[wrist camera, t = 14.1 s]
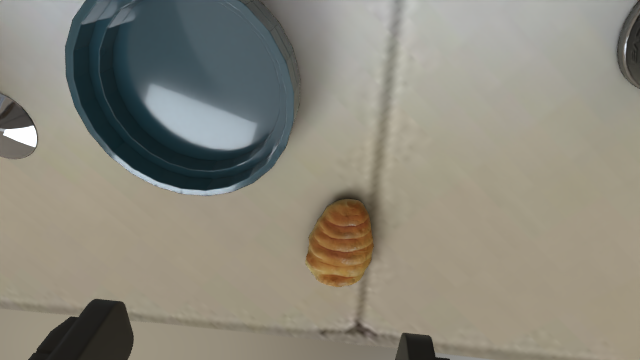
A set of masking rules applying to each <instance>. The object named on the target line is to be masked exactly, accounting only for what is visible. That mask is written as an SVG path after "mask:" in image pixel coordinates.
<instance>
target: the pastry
mask: <svg viewBox="0 0 640 360" xmlns="http://www.w3.org/2000/svg"><path fill="white" fill-rule="evenodd" d="M373 247H374V244H373V237H372V233H371V223H370V219H369V214H368V212H367V210H366V209H365V207H364V205H363V204H362V203H361V202H360V201H358V200H353V199H343V200H338V201H335V202H334V203H332V204H331V205H329V206H327V208H326V209H325V211H324V212H323V215H322V216H321V217H320V218H319V219H318V220H317V223H316V225H315V227H314V229H313V231H312V232H311V233H310V235H309V247H308V254H307V256H306V261H305V263H306V266H307V267H308V268H309V269H310V271H311V273H312V274H313V275H314V276H315V277H316V279H317V280H318V281H319V282H321V283H323V284H326V285H330V286H334V287H342V286H345V285H352V284H354V283H356V282H357V281H359V280H360V279H361V277H362V276H363V274H364V271H365V269H366V268H367V267H368V265H369V263H370V261H371V255H372V250H373Z"/></svg>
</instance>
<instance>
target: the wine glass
mask: <svg viewBox="0 0 640 360" xmlns="http://www.w3.org/2000/svg"><path fill="white" fill-rule="evenodd" d="M36 145H37V132H36V129H35V126H34V124H33V122H32V120H31V118H30V117H29V116H28V114H27V113H26V112H25V111H24V110H23V108H22V107H21V106H19V105H18V104H17V103H16V102H15V101H13V100H12V99H10V98H9V97H7V96H5V95H3V94H2V93H0V156H1V157H4V158H8V159H21V158H25V157H27V156H29V155H30V154H31V153H32V152H34V150H35V148H36Z"/></svg>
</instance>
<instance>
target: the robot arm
mask: <svg viewBox="0 0 640 360" xmlns="http://www.w3.org/2000/svg"><path fill="white" fill-rule="evenodd" d="M617 53H618V63H619V66H620V69H621V71H622V73H623V75H624V77H625V78H626V79H627V80H628V81H629V82H630V83H631V84H632V85H634V86H635V87H637V88H639V89H640V0H639V1H638V3H637V4H636V5H635V7H634V8H633V10H632V11H631V13H630V14H629V16H628V18H627V20H626V22H625V24H624V26H623V28H622V31H621V34H620V38H619V42H618V51H617ZM133 337H134V336H133V332H132V328H131V325H130V321H129V317H128V314H127V310H126V307H125V304H124V303H123V302H121V301H111V300H102V299H94V300H92V301H91V302H90V303H89V304H88V305H87V306H86V308H85V309H84V310H83V312H82V313H81V314H80V316H79V317H69V318H68V319H67V320H65V321H64V322H63V323H61V324H60V325H59V326H58V327H56V328H55V329H53V330H52V331H51V332H50V333H49V335H48V336H47V337H46V338H45V340H44V341H43V342H42V343H41V345H40V346H39V347H38V348H37V351H36V353H33V354H32V356H31V357H30V358H29V359H28V360H128V358H129V356H130V353H131V350H132V347H133V340H134V339H133ZM395 360H450V359H447V358H437V357H435V352H434V347H433V342H432V339H431V337H430V336H429V335H420V334H410V333H403V334H402V336H401V339H400V343H399V347H398V351H397V354H396V358H395Z"/></svg>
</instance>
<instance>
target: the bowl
mask: <svg viewBox="0 0 640 360" xmlns="http://www.w3.org/2000/svg"><path fill="white" fill-rule="evenodd" d="M65 63H66V79H67V82H68V86H69V89H70V92H71V96H72V99H73V103H74V106H75V108H76V110H77V112H78V114H79V115H80V117H81V119H82V121H83V123H84V124H85V126H86V128H87V130H88V132H89V133H90V134H91V135H92V136H93V138H94V139H95V140H96V141H97V142H98V143H99V145H100V146H101V147H102V148H103V149H104V151H105V152H106V153H107V154H108V155H109V156H110V157H111V158H113V159H114V160H115V161H116V162H118V163H119V164H120V165H121V166H123V167H124V168H125V169H126V170H128V171H129V172H130V173H132V174H133V175H135V176H137V177H139V178H141V179H143V180H145V181H147V182H149V183H151V184H152V185H154V186H157V187H160V188H164V189H167V190H170V191H174V192H177V193H180V194H181V193H182V194H189V195H202V196H210V195H217V194H223V193H230V192H233V191H236V190H238V189H240V188H243V187H245V186H247V185H250V184H252V183H254V182H255V181H256V180H258V179H259V178H260V177H261V176H263V175H264V174H265V173H266V172H267V171H269V170H270V169H271V168H272V167H273V166H274V164H275V163H276V161H277V160H278V158H279V157H280V155H281V154H282V152H283V151H284V149H285V148H286V146H287V143H288V140H289V137H290V134H291V131H292V128H293V125H294V121H295V118H296V115H297V112H298V108H299V105H300V75H299V71H298V67H297V63H296V58H295V54H294V51H293V48H292V46H291V44H290V42H289V41H288V39H287V37H286V35H285V33H284V31H283V29H282V27H281V25H280V24H279V22H278V21H277V20H276V19H275V17H274V16H273V15H272V14H271V13H270V12H269V11H268V9H267V8H266V7H265V6H264V5H263V4H262V3H261V2H260V0H86V1H85V2H84V4H83V5H82V6H81V8H80V9H79V11H78V12H77V14H76V15H75V17H74V18H73V20H72V24H71V27H70V31H69V35H68V38H67V42H66V46H65Z"/></svg>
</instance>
